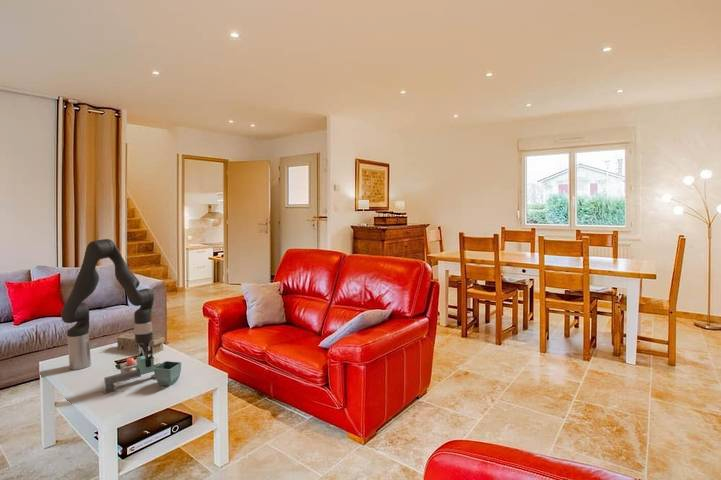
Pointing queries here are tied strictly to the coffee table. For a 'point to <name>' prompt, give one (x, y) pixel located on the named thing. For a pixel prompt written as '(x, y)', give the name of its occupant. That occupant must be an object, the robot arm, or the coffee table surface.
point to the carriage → (144, 365)
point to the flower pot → (167, 372)
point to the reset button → (130, 361)
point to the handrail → (111, 379)
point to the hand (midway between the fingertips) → (145, 364)
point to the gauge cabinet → (129, 369)
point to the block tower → (129, 343)
